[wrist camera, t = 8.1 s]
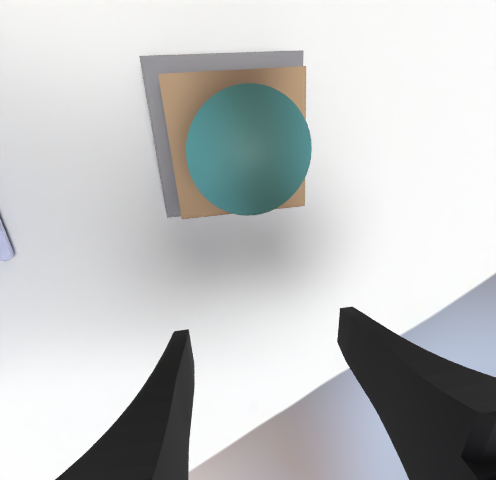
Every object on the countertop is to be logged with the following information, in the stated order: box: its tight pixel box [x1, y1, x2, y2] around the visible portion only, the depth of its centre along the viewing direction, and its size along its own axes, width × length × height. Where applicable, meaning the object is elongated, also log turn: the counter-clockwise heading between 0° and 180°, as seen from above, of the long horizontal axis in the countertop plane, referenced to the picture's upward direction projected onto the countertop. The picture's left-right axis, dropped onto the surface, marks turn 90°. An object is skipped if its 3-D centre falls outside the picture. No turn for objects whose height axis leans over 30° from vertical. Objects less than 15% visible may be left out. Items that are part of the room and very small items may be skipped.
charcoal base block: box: [140, 51, 303, 218], centre depth 19 cm, size 9×9×3 cm
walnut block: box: [158, 66, 306, 219], centre depth 16 cm, size 7×7×3 cm
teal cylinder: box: [186, 83, 311, 215], centre depth 13 cm, size 4×4×5 cm
